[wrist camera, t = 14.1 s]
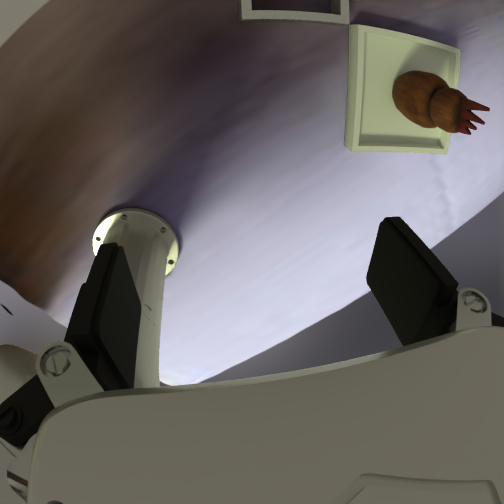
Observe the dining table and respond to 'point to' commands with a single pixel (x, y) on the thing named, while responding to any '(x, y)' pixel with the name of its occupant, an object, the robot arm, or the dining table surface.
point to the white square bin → (296, 14)
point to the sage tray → (380, 90)
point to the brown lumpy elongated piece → (434, 103)
